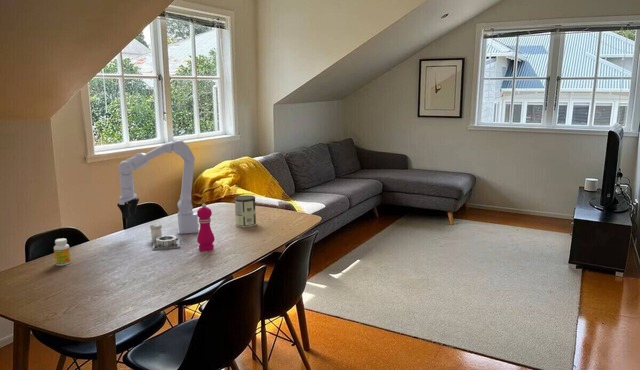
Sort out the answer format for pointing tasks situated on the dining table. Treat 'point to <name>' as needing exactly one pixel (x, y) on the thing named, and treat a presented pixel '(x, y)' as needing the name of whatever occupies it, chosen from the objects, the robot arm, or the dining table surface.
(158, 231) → the white knob
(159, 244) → the flange
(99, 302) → the dining table surface
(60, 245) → the supplement bottle
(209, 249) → the pepper mill
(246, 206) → the coffee can
